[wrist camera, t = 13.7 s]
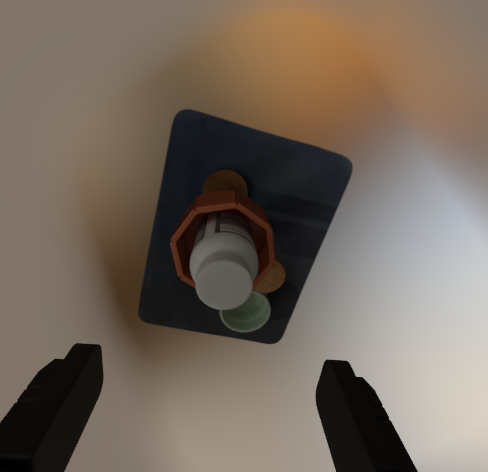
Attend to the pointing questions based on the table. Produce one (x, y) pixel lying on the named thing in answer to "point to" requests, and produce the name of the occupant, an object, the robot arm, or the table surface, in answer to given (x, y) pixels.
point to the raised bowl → (218, 201)
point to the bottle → (273, 271)
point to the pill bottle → (224, 260)
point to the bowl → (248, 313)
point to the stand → (225, 182)
